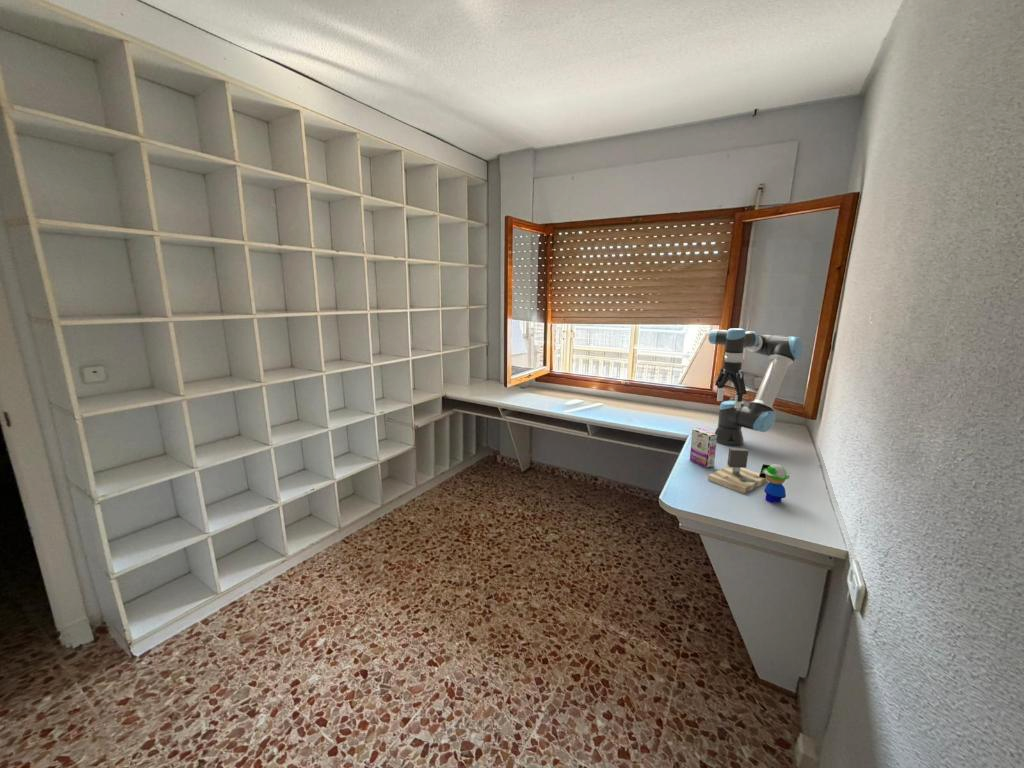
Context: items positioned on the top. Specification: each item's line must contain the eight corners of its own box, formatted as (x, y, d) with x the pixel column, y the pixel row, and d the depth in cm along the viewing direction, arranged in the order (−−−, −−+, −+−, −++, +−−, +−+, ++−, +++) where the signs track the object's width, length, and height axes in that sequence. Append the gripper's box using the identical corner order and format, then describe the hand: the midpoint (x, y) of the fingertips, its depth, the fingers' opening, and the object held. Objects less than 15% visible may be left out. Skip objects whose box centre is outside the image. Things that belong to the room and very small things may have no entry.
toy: (775, 494, 170) (780, 460, 167) (791, 505, 161) (796, 469, 158) (754, 494, 170) (759, 460, 167) (768, 505, 161) (773, 469, 157)
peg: (726, 470, 186) (729, 447, 184) (743, 471, 185) (745, 448, 183) (735, 481, 176) (738, 457, 174) (753, 482, 175) (756, 458, 172)
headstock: (731, 469, 194) (732, 464, 194) (767, 481, 181) (768, 475, 181) (707, 479, 183) (708, 474, 183) (744, 493, 170) (745, 487, 170)
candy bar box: (714, 466, 197) (718, 434, 193) (706, 468, 195) (710, 435, 192) (696, 458, 207) (699, 427, 204) (689, 459, 205) (691, 428, 202)
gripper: (710, 357, 207) (706, 398, 211) (743, 365, 183) (737, 411, 187) (724, 357, 208) (719, 397, 212) (758, 365, 184) (753, 411, 188)
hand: (728, 404), depth 200 cm, fingers open, 13 cm apart
